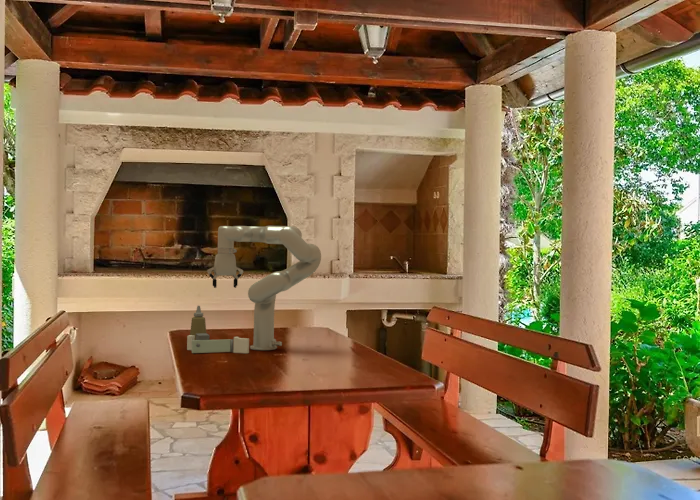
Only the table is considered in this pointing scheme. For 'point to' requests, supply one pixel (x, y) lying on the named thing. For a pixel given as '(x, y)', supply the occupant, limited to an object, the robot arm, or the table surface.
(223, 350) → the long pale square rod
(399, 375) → the table surface
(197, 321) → the squeeze bottle
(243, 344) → the pale rectangular blocks
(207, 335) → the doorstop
